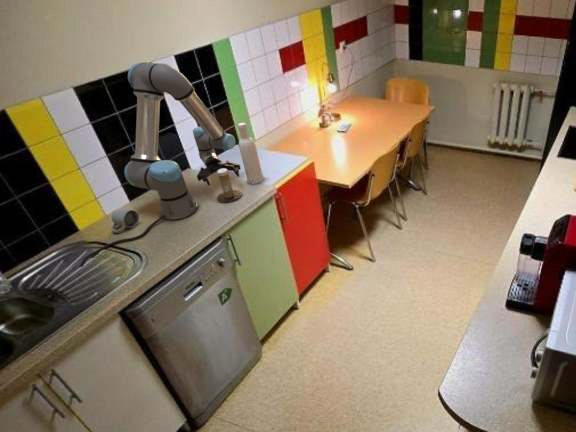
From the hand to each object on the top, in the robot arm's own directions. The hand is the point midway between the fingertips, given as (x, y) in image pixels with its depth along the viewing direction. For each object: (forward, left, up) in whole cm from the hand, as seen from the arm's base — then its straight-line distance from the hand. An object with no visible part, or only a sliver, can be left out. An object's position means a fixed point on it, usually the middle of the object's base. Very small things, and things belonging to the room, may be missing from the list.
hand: (223, 178), depth 195 cm
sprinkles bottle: (0, -2, -9) cm, 9 cm away
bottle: (+16, +6, -10) cm, 20 cm away
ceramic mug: (-44, +4, -10) cm, 45 cm away
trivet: (0, -2, -9) cm, 10 cm away
